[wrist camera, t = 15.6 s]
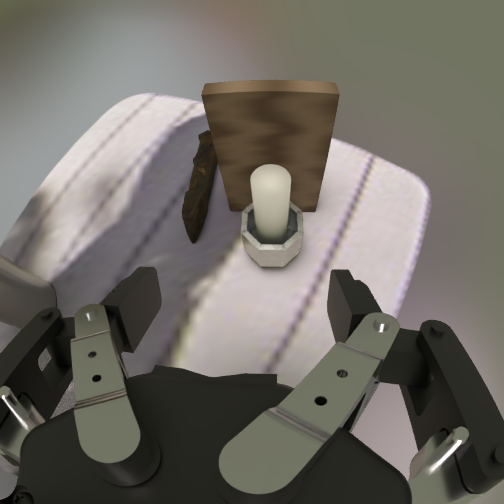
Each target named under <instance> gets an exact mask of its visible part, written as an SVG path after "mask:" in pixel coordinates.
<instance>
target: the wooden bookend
mask: <svg viewBox="0 0 504 504" xmlns="http://www.w3.org/2000/svg"><path fill="white" fill-rule="evenodd" d="M201 96H202V100H203V104H204V108H205V112H206V116H207V120H208V124H209V128H210V132H211V136H212V140H213V144H214V148H215V152H216V156H217V160H218V164H219V168H220V172H221V176H222V180H223V184H224V188H225V191H226V195H227V199H228V203H229V207H230V211H243V210H244V209H245V208H247V207H248V206H249V205H250V204H252V203H253V198H252V190H251V182H250V179H251V175H252V173H253V172H254V171H255V170H256V169H257V168H258V167H260V166H263V165H267V164H274V165H279V166H281V167H283V168H285V169H286V170H287V171H288V172H289V174H290V176H291V189H290V201H291V202H292V203H293V204H294V205H295V206H297V207H298V208H299V209H300V210H301V211H302V212H315V211H316V206H317V202H318V198H319V194H320V189H321V185H322V180H323V176H324V171H325V167H326V162H327V157H328V152H329V148H330V143H331V138H332V133H333V127H334V122H335V117H336V111H337V105H338V100H339V91H338V88H337V86H336V83H331V82H318V81H299V80H296V81H295V80H251V81H231V82H218V83H207V84H205V85H204V89H203V91H202V95H201Z"/></svg>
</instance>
